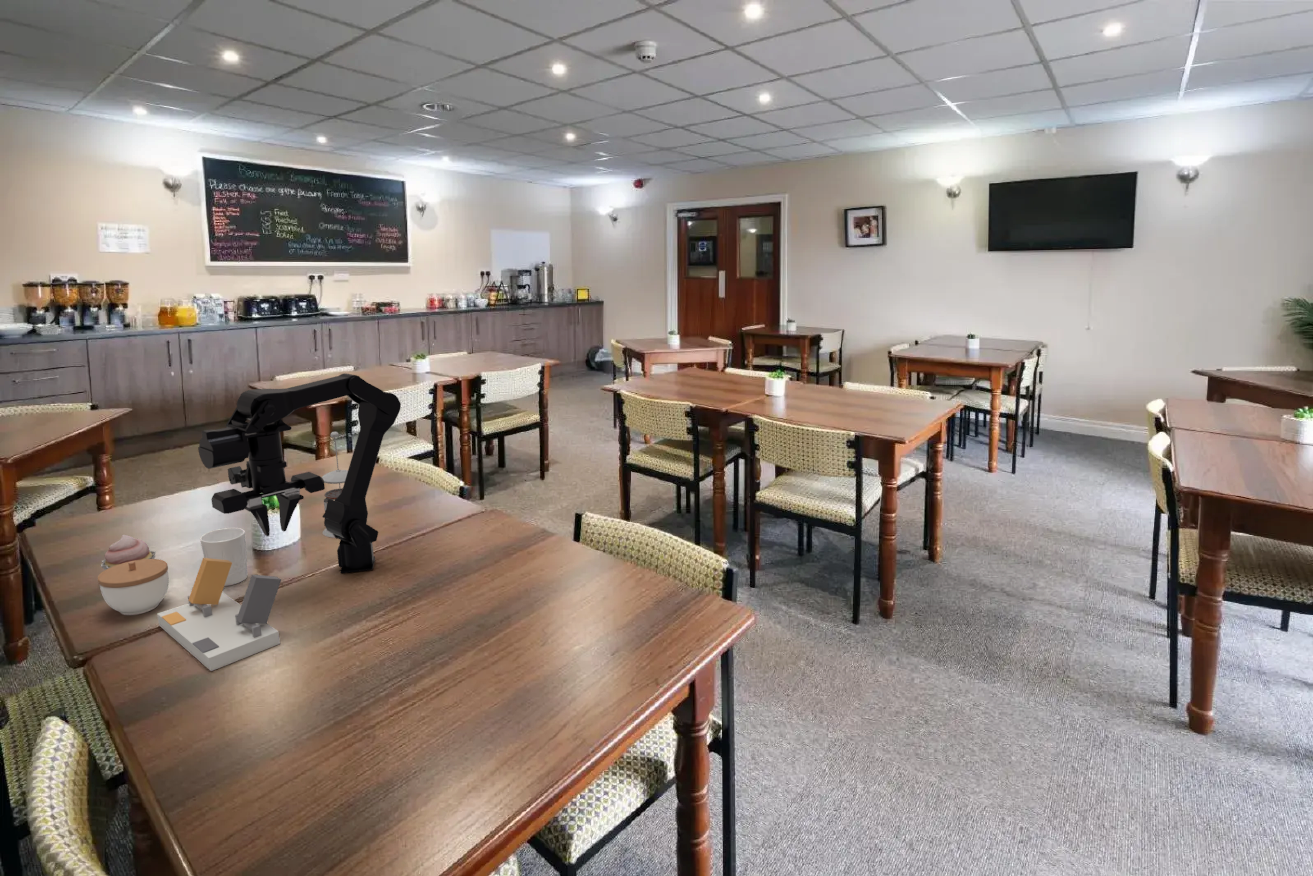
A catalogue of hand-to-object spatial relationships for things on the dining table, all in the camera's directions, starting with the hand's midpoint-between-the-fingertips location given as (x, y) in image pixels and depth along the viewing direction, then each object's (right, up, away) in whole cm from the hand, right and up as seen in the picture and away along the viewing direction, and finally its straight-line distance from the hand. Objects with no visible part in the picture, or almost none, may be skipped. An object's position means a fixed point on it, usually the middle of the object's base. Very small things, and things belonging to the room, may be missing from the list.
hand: (275, 533), depth 138 cm
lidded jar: (-24, -14, -3) cm, 28 cm away
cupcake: (-34, -11, +8) cm, 37 cm away
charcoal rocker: (+3, -15, -15) cm, 21 cm away
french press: (-2, -4, +37) cm, 37 cm away
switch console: (-4, -16, -12) cm, 21 cm away
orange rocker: (-9, -13, -8) cm, 18 cm away
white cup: (-15, -11, +9) cm, 20 cm away
